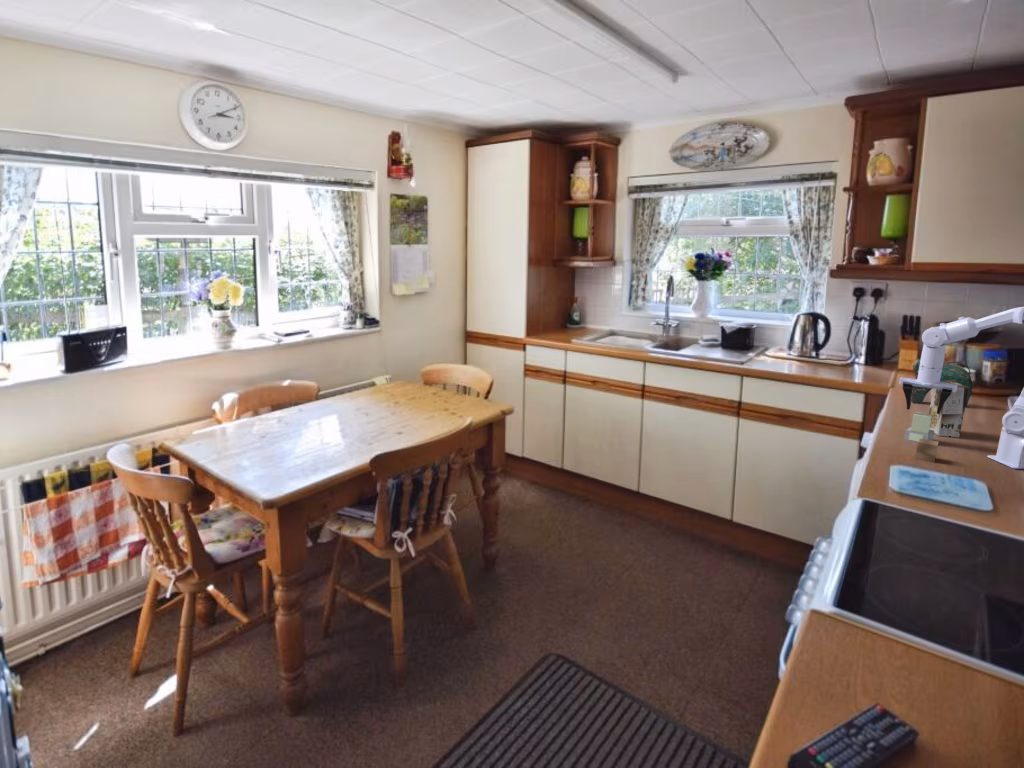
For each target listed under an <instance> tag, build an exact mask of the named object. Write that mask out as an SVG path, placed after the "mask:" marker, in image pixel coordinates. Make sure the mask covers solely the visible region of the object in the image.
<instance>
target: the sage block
mask: <svg viewBox="0 0 1024 768" xmlns="http://www.w3.org/2000/svg"><path fill="white" fill-rule="evenodd" d="M931 418H932V414H929V413H925V412H920V411H914V413H913V415H912V422H911V426H910V427H911V431H917V432H923V433H928V432H929V429H930V424H931Z"/></svg>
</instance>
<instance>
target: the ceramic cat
mask: <svg viewBox="0 0 1024 768" xmlns="http://www.w3.org/2000/svg"><path fill="white" fill-rule="evenodd" d="M946 356H947V354H946V353H945V355H944V357H946ZM920 360H921V355H920V356H919V357H918V358H917V359H916V360H914V362H913V363H912V364H913V365H912V370H913V372H914V373H915V374H916V377H915V379H917V378H918V372H919V366H920ZM952 363H953V364H952ZM957 364H959V365H963V366H965V367H966V369H968V371H967V370H966V369H965V368H963V367H962V366H959V365H957ZM971 373H972V372H971V370H970V367H969V366H968V365H967V364H965V363H963V362H959V361H949V362H943V367H942V372H941V378H940V381H954V382H958V383H960V384H962V385H964V386H967V387H969V391H968V396H967V401H966V406H965V408H967V406H968V404H969V403H968V402H969V400H970V398H971V395H972V393H973V386H974V385H973V380H972V377H971ZM933 387H934V386H933ZM931 390H933V388H925V387H918V386H913V391H912V396H911V403H913V404H917V403H918V404H920V405H922V404H923V401H924V400H925V398H926V395H928V393H929V392H930V391H931Z"/></svg>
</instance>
